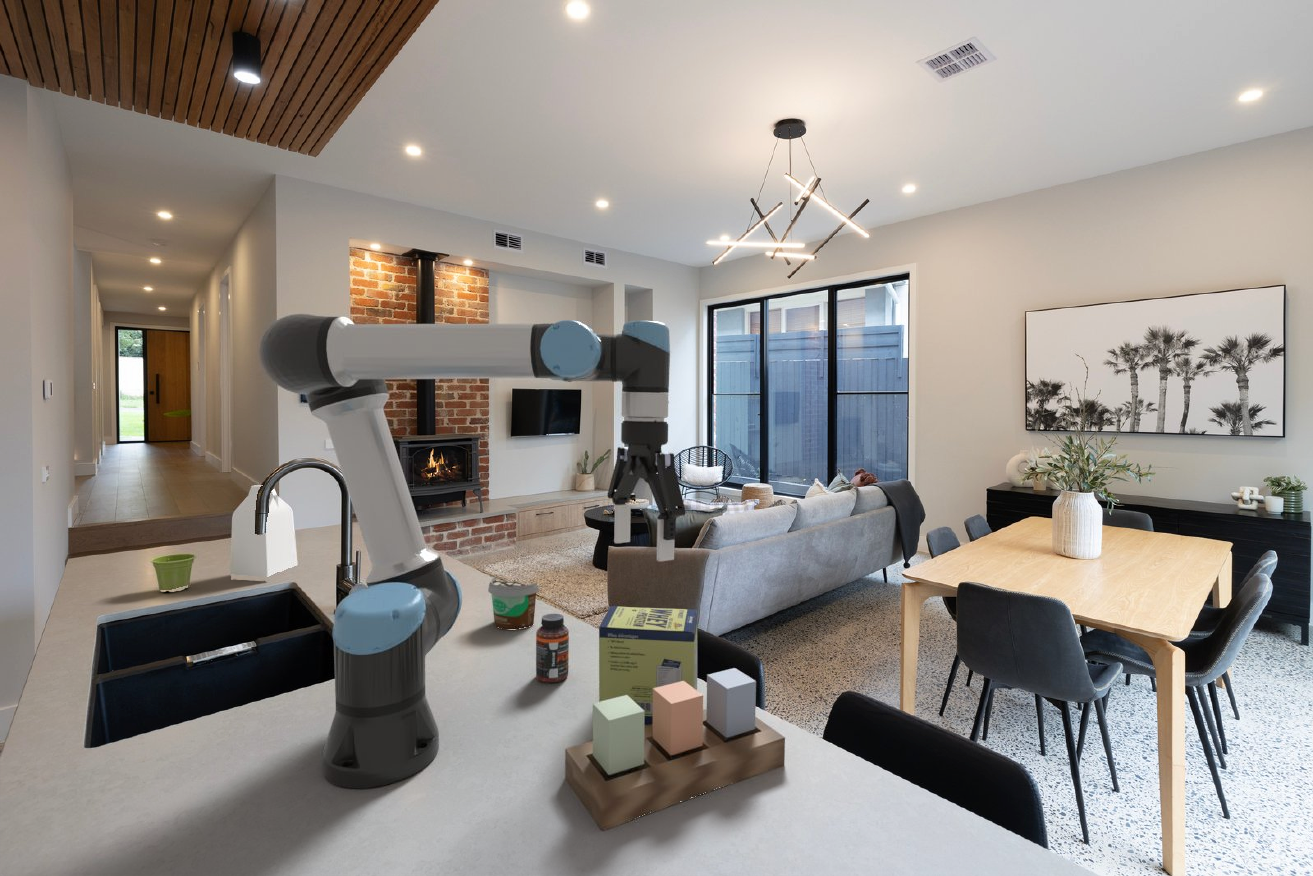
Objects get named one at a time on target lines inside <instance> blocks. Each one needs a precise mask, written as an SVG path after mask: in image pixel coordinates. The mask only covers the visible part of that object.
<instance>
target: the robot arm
mask: <svg viewBox="0 0 1313 876" xmlns="http://www.w3.org/2000/svg"><path fill="white" fill-rule="evenodd" d="M670 342H671V341H670V328H669V326H667V324H665V323H664V322H661V321H655V320H653V321H652V320H630V321H626V322H625V323H624V324H623V326H622V331H621V333H617V334H615V333H614V334H613V333H612V334H606V333H605V334H603V333H602V334H601V333H596V332H595V331H594V330H593V329H592V328H591V327H590V326H589V325H587V324H585V323H582V322H581V321H579V320H573V319H565V320H560V321H558V322H555V323H389V324H388V323H377V324H376V323H375V324H374V323H364V324H363V323H362V324H361V323H360V324H355V323H354V322H353V321H352V319H350V318H349V317H347V316H324V315H323V316H322V315H314V314H307V313H306V314H305V313H295V314H290V315H286V316H283V317H281V318H278V319H277V320H276V321H274V322H272V324H270V325H269V326H268V327H267V328H266V330H265V331H264V332H263V334H262V337H261V339H260V342H259V347H258V353H259V354H258V355H259V361H260V365H261V367H262V369H263V370H264V371H263V372H265V374H266V376H267V377H268V378H269V379H270V380H271V381H272V382H273V383H274V384H276V385H278V387H280V388H282V389H284V390H286V391H287V392H290V393H295V394H297V395H305V398H306V402H307V403H308V407H309V410H310V413H311V415H312V417H315V418H317V419H318V420H321V421H323V422H324V423H325V425H326V428H327V431H328V434H329V436H330V440H331V443H332V446H333V449H334V452H335V455H336V458H337V462H338V465H339V468H340V471H341V473H342V477H343V480H344V483H345V486H346V489H347V493H348V495H349V499H350V502H351V505H352V508H353V511H354V513H355V517H356V521H357V523H358V524H357V525H358V526H359V530H360V532H361V536H362V539H363V542H364V545H365V548H366V551H367V553H368V557H369V559H370V563H371V569H370V571H369V572H368V574H367V576H366V577H365V583H366V586H367V588H361V589H360V588H359V589H357V590H355V591H352V593H350V594H348V595H346V597H344V598H343V599H342V600H341V601H340V602H339V604H338V605H337V607H336V608H335V611H334V617H333V619H334V620H333V626H332V640H333V657H334V659H333V660H334V662H333V663H334V690H335V691H334V692H335V694H334V695H335V711H334V716H333V719H332V723H331V725H330V729H329V732H328V735H327V738H326V740H325V744H324V747H323V750H322V756H321V760H322V761H321V763H322V774H323V775H322V776H323V777H324V778H325V779H326V780H327V781H328V782H329V783H331V784H333V785H335V786H337V787H342V788H348V789H369V788H377V787H382V786H385V785H390V784H394V783H396V782H399V781H402V780H405V779H407V778H408V777H411V776H414V775H415V774H416V773H418V772H420V771H422V770H423V769H425V768H426V767H427V766H428V765H429V764H431V763H432V761H433V760H434V759H435V758H436V756H437V755H438V752H439V749H440V738H439V737H440V733H439V727H438V725H437V723H436V720H435V716H434V715H433V712H432V709H431V707H430V704H429V701H428V699H427V695H426V656H427V654H428V653H429V652H430V651H431V650H432V649H433V648H434V647H435V646H436V645H437V643H438V642H439V641H440V640H441V638H443V637H445V636H446V635H447V634H448V633H449V631H450V630H451V629H452V628H453V626H454V624H455V622H456V621H457V618H458V617H459V615H460V613H461V609H462V605H463V594H462V593H463V592H462V589H461V588H462V587H461V586H460V583H459V582H458V579H457V578H456V577H455V575H454V574H452V573H451V572H450V571H448V570H446V569H445V567H444V564H443V561H442V559H441V558H442V557H441V556H440V555H441V554H440V553H438V552H436V551H434V550H433V549H430V548H429V547H428V546H427V544H426V540H425V537H424V533H423V531H422V527H421V524H420V521H419V518H418V515H417V511H416V509H415V505H414V502H413V499H412V496H411V493H410V490H409V486H408V484H407V481H406V477H405V474H404V472H403V471H404V470H403V467H402V464H401V462H400V459H399V456H398V455H399V454H398V452H397V449H396V445H395V443H394V440H393V436H392V433H391V430H390V427H389V426H390V425H389V423H388V420H387V417H386V414H385V411H384V407H385V405H386V403H387V402H388V400H389V398H390V393H389V391H388V388H387V383H386V380H434V379H435V380H438V379H439V380H445V379H446V380H447V379H448V380H450V379H453V380H455V379H457V380H458V379H459V380H461V379H463V380H464V379H470V380H471V379H472V380H473V379H550V380H552V381H561V382H568V383H571V382H613V383H616V382H617V383H618V382H620V383H621V385H622V388H621V413H620V414H621V415H620V416H621V417H622V418H624V420H623V421H622V422H621V423H620V424H621V425H620V426H621V427H620V428H621V429H620V432H621V433H620V434H621V435H620V436H621V437H620V441H621V443H622V444H623V445H628V446H618V447H617V452H616V459H615V460H616V461H615V465H614V467H613V468H614V469H613V473H612V476H611V479H610V483H609V487H608V491H607V498H608V499H611V500H612V504H613V505H614V526H613V527H614V530H613V531H614V533H613V534H614V537H613V538H614V539H613V542H614V544H623V543H630V542H631V514H632V511H631V506H632V504H631V503H632V500H631V495H633V492H634V490H635V488H636V487H637V484H638V482H639V480H640V479H643V480H644V482H645V483H647V484H648V486H649V489H650V491H651V494H652V496H653V500H654V502H655V504H656V506H657V510H658V512H659V515H658V516H657V517H656V519H657V520H656V521H657V523H656V524H657V525H656V561H657V562H667V561H674V560H675V542H676V541H675V539H676V527H677V525H676V524H677V518H678V517H683V516H685V515H686V508H685V504H684V499H683V496H682V491H681V486H680V483H679V479H678V475H677V471H676V467H675V463H676V462H675V454H674V452H672V451H671V452H663V451H662V446H664V445H667V444H668V442H669V423H668V422H667V421H665V419H667V418H668V417H669V403H670V402H669V391H670V388H669V387H670V366H671V365H670V361H671V348H670V347H671V344H670Z"/></svg>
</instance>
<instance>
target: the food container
mask: <svg viewBox="0 0 1313 876" xmlns="http://www.w3.org/2000/svg"><path fill="white" fill-rule="evenodd" d="M539 591H540V589H539V585H538V583H537V582H534V583H531V584H523V583H522V582H521V583H520V582H517V581H498V580H497V577H496V576H494V577H493V578H491V579H490V581H489V585H488V590H487V592H488V593H489V594H491V603H492V610H493V611H492V612H493V621H494V623H493V624H494V626H495V625H496V627H495V628H497V627H499V628H502V629H519V628H524V627H529V626H531V627H533V626H534V625H533V624H534V622H535V614H536V613H535V610H536V603H537V602H536V600H537V593H538V592H539ZM532 625H533V626H532ZM499 628H498V629H499ZM529 628H530V627H529ZM502 629H501V630H502Z"/></svg>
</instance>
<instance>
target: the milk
mask: <svg viewBox="0 0 1313 876" xmlns="http://www.w3.org/2000/svg"><path fill="white" fill-rule="evenodd" d="M261 486H262V485H258V484H257V485H251V487H250V489H249V492H248V495H247V496H246V497H245V498H244V500H243V501H242V502H241V503H240V504H239V505H238V507H237V508H235V510H234V511H233V513H232V515H231V516H232V518H231V541H230V542H231V543H230V567H229V568H230V572H229V574H235V575H248V576H260V577H269V576H271V575H273V574H275V573H277V572H282V571H284V570H286V569H288V568H292V567H294V566H297V565H299V564H298V555H297V554H298V553H297V541H296V532H295V531H296V530H295V519H294V511H293V509H292V507H291V506H290V505H289V504H288V503H287V502H285V500H283V499H282V498H281V497H280V496H278V494H277V491H276V489H275V488H274V489H273V490H272V491H271V493H270V499H269V513H268V517H267V522H266V533H264V534H263V535H261V536H259V535H257V534H255V510H256V500H257V494H258V490H259V489H260V487H261Z"/></svg>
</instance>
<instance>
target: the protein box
mask: <svg viewBox="0 0 1313 876" xmlns="http://www.w3.org/2000/svg"><path fill="white" fill-rule="evenodd" d="M680 681H685V682H686V683H687V684H689V685H690V686H691V687H693V688H694V689H695V690H697V691H698V610H697V609H693V608H692V609H691V608H690V609H686V608H664V607H663V608H661V607H660V608H657V607H633V606H632V607H631V606H617V605H616V606H615V605H614V606H610V607H609V608H608V610H607V612H606V613H605V616H604V617H603V619H602V621H601V622H600V625H599V626H598V702H601V701H605V700H609V699H613V698H617V697H620V696H624V695H628V696H629V697H630V698H631V699H632V700H633V701H634V702H635V703H636V704H637V705H638V706H640V707H641V708H642V709H643V710H644V711H645V713H644V726H647V725H651V724H653V688H656V687H660V686H664V685H668V684H672V683H676V682H680Z"/></svg>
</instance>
